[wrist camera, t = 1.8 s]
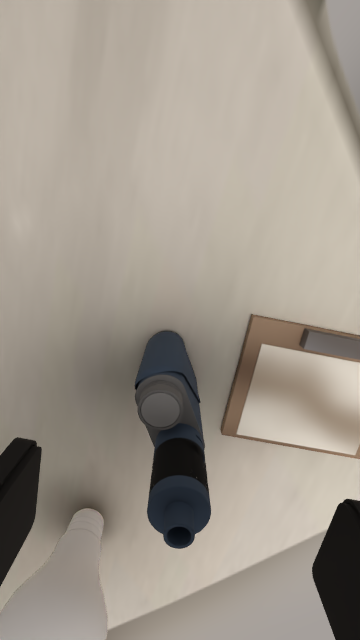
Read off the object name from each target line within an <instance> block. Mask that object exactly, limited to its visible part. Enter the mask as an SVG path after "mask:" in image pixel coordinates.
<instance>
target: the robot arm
mask: <svg viewBox="0 0 360 640" xmlns="http://www.w3.org/2000/svg"><path fill="white" fill-rule="evenodd" d="M41 451H42V449H41V447H37V443H36V441H34V440H28V439H23V438H18V437H17V438H15V439H14V440H13V441H12V442H11V443H10V445H9V446H8V447H7V448H6V449H5V451H4V452H3V453H2V454H1V455H0V586H1V584H2V582H3V581H4V579H5V577H6V575H7V573H8V571H9V569H10V567H11V566H12V564H13V562H14V560H15V558H16V556H17V554H18V552H19V551H20V549H21V547H22V545H23V543H24V541H25V539H26V537H27V536H28V534H29V532H30V530H31V528H32V525H33V522H34V519H35V514H36V504H37V493H38V483H39V472H40V462H41ZM312 572H313V573H312V574H313V579H314V582H315V585H316V587H317V590H318V593H319V595H320V598H321V601H322V604H323V607H324V609H325V612H326V615H327V617H328V620H329V623H330V626H331V628H332V631H333V634H334V637H335V639H336V640H360V501H357V500H352V499H346V500H344V502H343V503H340V504H339V505H338V507H337V509H336V511H335V514H334V516H333V519H332V521H331V523H330V526H329V528H328V530H327V533H326V535H325V537H324V540H323V542H322V545H321V547H320V549H319V552H318V554H317V556H316V559H315V561H314V563H313V567H312Z"/></svg>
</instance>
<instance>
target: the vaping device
mask: <svg viewBox="0 0 360 640" xmlns="http://www.w3.org/2000/svg"><path fill="white" fill-rule="evenodd" d="M135 389H136V394H135V400H136V403H137V406H138V415H139V417H140V419H141V421H142V422H143V423H144V424H145V425H146V428H147V430H148V433H149V435H150V437H151V440H152V442H153V445H154V447H155V450H154V458H153V459H154V460H153V461H154V463H153V466H152V469H153V471H152V475H151V483H150V491H149V500H148V508H147V514H148V519H149V521H150V523H151V525H152V526H153V527H154V528H155V529H156V530H157V531H158V532H160V533H162V534H163V537H164V541H165V542H166V543H167V544H168V545H169V546H170V547H173V548H178V549H181V548H185V547H188V546H189V545H191V544H192V542H193V541H194V538H195V534H196V533H198V532H200V531H201V530H202V529H203V528H204V527H205V526H206V525H207V523H208V522H209V519H210V515H211V506H210V498H209V489H208V483H206V482H208V480H207V472H206V463H204V462H205V455H204V448H205V443H204V439H203V431H202V423H201V415H200V406H199V403H200V399H199V395H198V390H197V382H196V377H195V375H194V372H193V369H192V366H191V363H190V360H189V357H188V355H187V352H186V349H185V345H184V342H183V340H182V338H181V337H180V336H179V335H178V334H176V333H174V332H169V331H165V332H160V333H158V334H156V335H154V336H153V337H152V338H151V339H150V340H149V342H148V343H147V346H146V349H145V352H144V355H143V359H142V362H141V365H140V368H139V371H138V375H137V378H136V382H135ZM203 466H204V467H203Z"/></svg>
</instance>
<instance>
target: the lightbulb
mask: <svg viewBox="0 0 360 640" xmlns="http://www.w3.org/2000/svg"><path fill="white" fill-rule="evenodd" d="M103 527H104V520H103V517H102V516H101V514H100V513H99V512H98V511H96V510H94V509H90V508H85V509H81V510H79V511H77V512H76V513H75V514H74V516H73V517H72V520H71V521H70V523H69V526H68V528H67V531H66V533H65V534H64V535H63V536H62V537H61V538H60V540H59V541H58V543H57V545H56V548H55V550H54V551H53V553H52V555H51V556H50V558H49V559H48V560H47V561H46V563H45V564H44V565H43V566H42V567H41V568H40V569H39V570H38V571H36V572H35V573H34V574H33V575H32V576H31V577H30V578H29V579H28V580H27V581H26V582H25V583H23V584H22V585H21V586H20V587H19V588H18V589H17V590H16V591H15V592H14V594H13V595H12V596H11V598H10V599H9V601H8V602H7V604H6V605H5V607H4V608H3V610H2V611H1V613H0V640H106V637H107V610H106V605H105V600H104V595H103V591H102V587H101V584H100V579H99V561H100V555H101V543H100V541H101V536H102V531H103Z"/></svg>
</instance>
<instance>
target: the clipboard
mask: <svg viewBox="0 0 360 640" xmlns="http://www.w3.org/2000/svg"><path fill="white" fill-rule="evenodd" d="M221 433H222V435H227V436H232V437H238V438H244V439H249V440H255V441H261V442H266V443H272V444H278V445H283V446H289V447H295V448H300V449H306V450H311V451H317V452H323V453H328V454H334V455H340V456H345V457H351V458H357V459H360V336H358V335H353V334H348V333H343V332H338V331H333V330H328V329H323V328H318V327H313V326H308V325H303V324H298V323H293V322H288V321H283V320H278V319H273V318H268V317H263V316H258V315H253V314H252V315H251V318H250V322H249V326H248V330H247V333H246V337H245V341H244V345H243V348H242V352H241V356H240V359H239V363H238V367H237V371H236V374H235V378H234V382H233V386H232V389H231V393H230V397H229V401H228V404H227V408H226V412H225V416H224V419H223V423H222V427H221Z"/></svg>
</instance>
